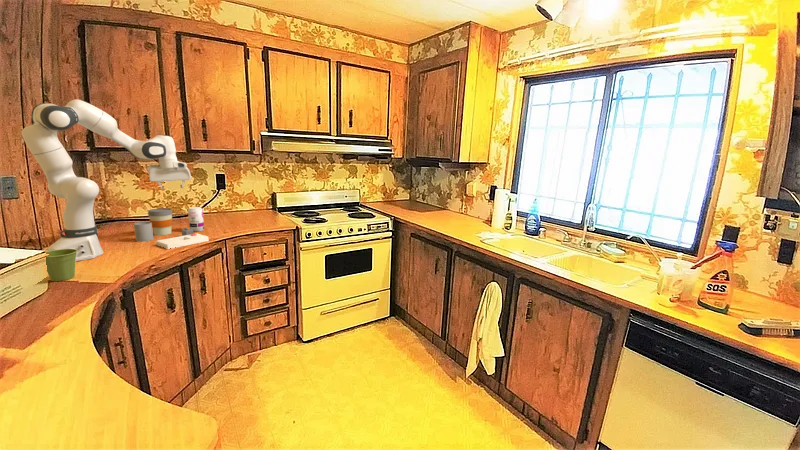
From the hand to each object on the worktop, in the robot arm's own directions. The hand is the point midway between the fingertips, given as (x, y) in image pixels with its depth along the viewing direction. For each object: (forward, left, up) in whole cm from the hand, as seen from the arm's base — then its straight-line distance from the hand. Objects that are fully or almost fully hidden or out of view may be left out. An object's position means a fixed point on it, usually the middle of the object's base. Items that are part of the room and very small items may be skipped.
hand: (172, 188), depth 204 cm
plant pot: (-59, -29, -30) cm, 72 cm away
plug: (+5, 0, -30) cm, 31 cm away
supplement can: (+17, +12, -30) cm, 37 cm away
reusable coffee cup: (0, +20, -30) cm, 36 cm away
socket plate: (-3, -11, -30) cm, 32 cm away
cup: (-13, +12, -30) cm, 35 cm away
